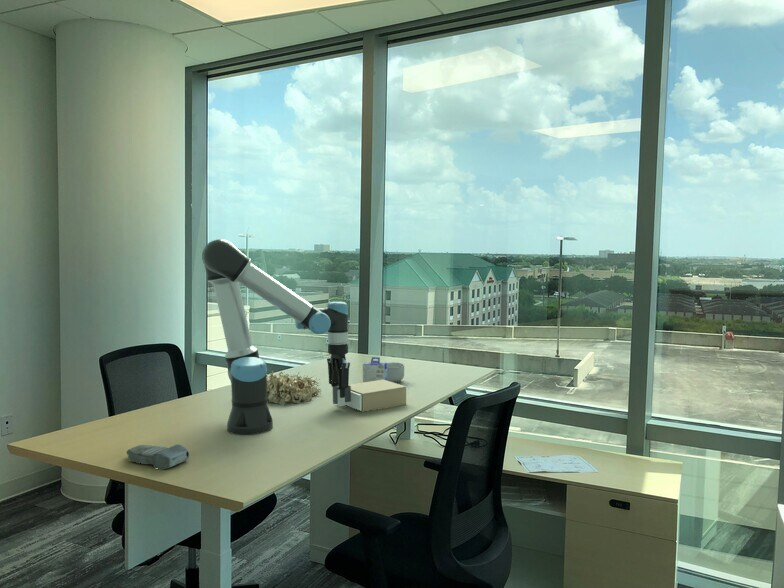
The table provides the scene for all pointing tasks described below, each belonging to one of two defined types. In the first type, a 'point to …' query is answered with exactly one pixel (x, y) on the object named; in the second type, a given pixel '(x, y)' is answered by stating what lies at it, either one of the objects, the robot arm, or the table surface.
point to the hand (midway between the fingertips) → (338, 404)
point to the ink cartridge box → (374, 370)
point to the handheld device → (158, 455)
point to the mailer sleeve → (380, 394)
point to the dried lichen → (290, 388)
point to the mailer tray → (356, 401)
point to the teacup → (395, 372)
